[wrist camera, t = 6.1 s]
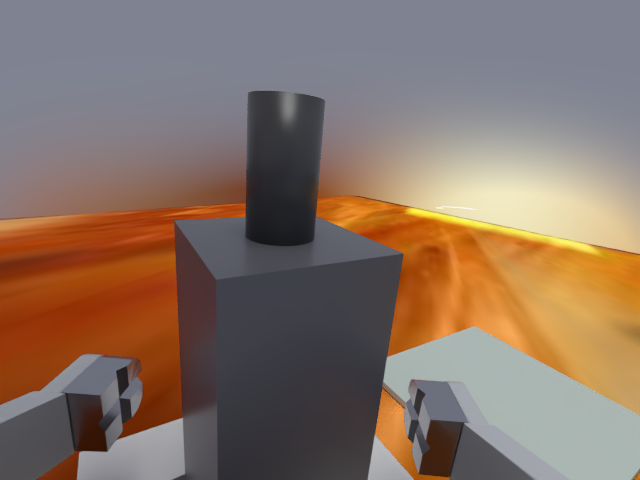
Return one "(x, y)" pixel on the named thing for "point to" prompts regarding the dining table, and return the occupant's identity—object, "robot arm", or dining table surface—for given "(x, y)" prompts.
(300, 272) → the plug
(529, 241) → the dining table surface
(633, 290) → the dining table surface
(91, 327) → the dining table surface
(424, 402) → the robot arm
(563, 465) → the mat
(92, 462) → the socket block
